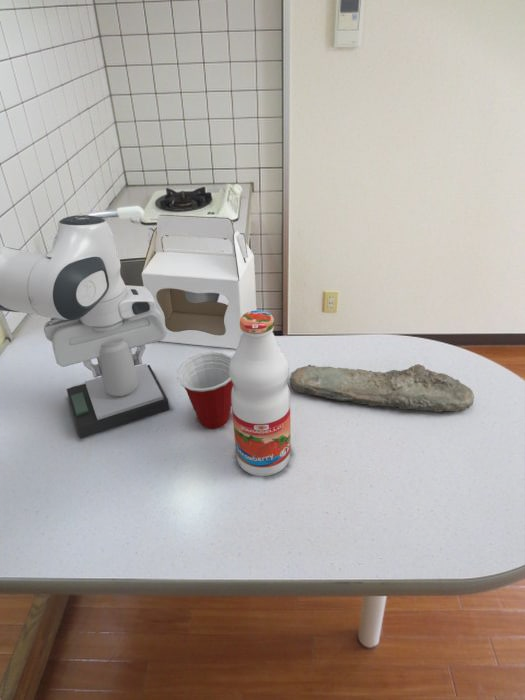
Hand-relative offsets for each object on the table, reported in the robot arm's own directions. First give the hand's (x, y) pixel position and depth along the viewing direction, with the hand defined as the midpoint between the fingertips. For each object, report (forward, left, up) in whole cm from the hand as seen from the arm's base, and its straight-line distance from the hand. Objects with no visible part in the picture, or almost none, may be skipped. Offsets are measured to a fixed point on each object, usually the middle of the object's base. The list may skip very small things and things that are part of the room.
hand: (118, 369), depth 100 cm
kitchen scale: (-1, 0, -8) cm, 8 cm away
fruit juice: (+18, -26, -8) cm, 33 cm away
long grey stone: (+45, -21, -8) cm, 51 cm away
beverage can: (0, 0, -5) cm, 5 cm away
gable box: (+24, +17, -8) cm, 30 cm away
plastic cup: (+14, -13, -8) cm, 21 cm away
